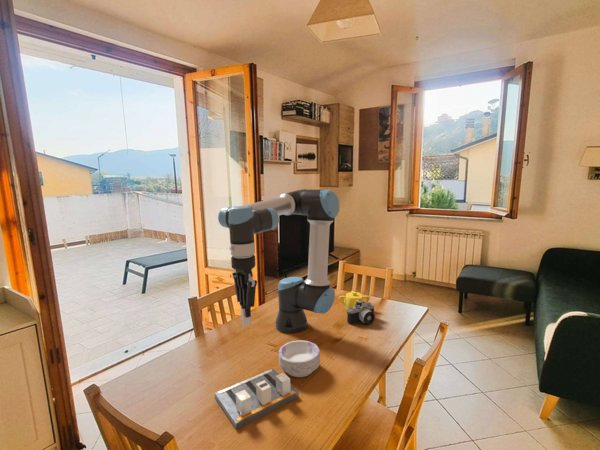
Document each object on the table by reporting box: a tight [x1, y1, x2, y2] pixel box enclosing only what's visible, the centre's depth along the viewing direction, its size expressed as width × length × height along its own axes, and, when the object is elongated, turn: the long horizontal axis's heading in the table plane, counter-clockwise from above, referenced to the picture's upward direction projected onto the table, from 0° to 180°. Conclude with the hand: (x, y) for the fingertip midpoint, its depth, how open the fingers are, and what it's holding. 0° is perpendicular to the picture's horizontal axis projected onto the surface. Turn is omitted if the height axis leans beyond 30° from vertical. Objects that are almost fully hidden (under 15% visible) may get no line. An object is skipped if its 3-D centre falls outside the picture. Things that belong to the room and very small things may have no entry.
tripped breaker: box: [256, 380, 271, 405], centre depth 99 cm, size 4×3×5 cm
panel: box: [214, 368, 300, 430], centre depth 103 cm, size 16×22×7 cm
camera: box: [346, 300, 376, 326], centre depth 154 cm, size 16×9×10 cm, turn 116°
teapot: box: [339, 290, 370, 314], centre depth 167 cm, size 14×13×10 cm
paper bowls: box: [278, 339, 321, 378], centre depth 118 cm, size 15×15×8 cm
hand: (246, 324), depth 105 cm, fingers closed
